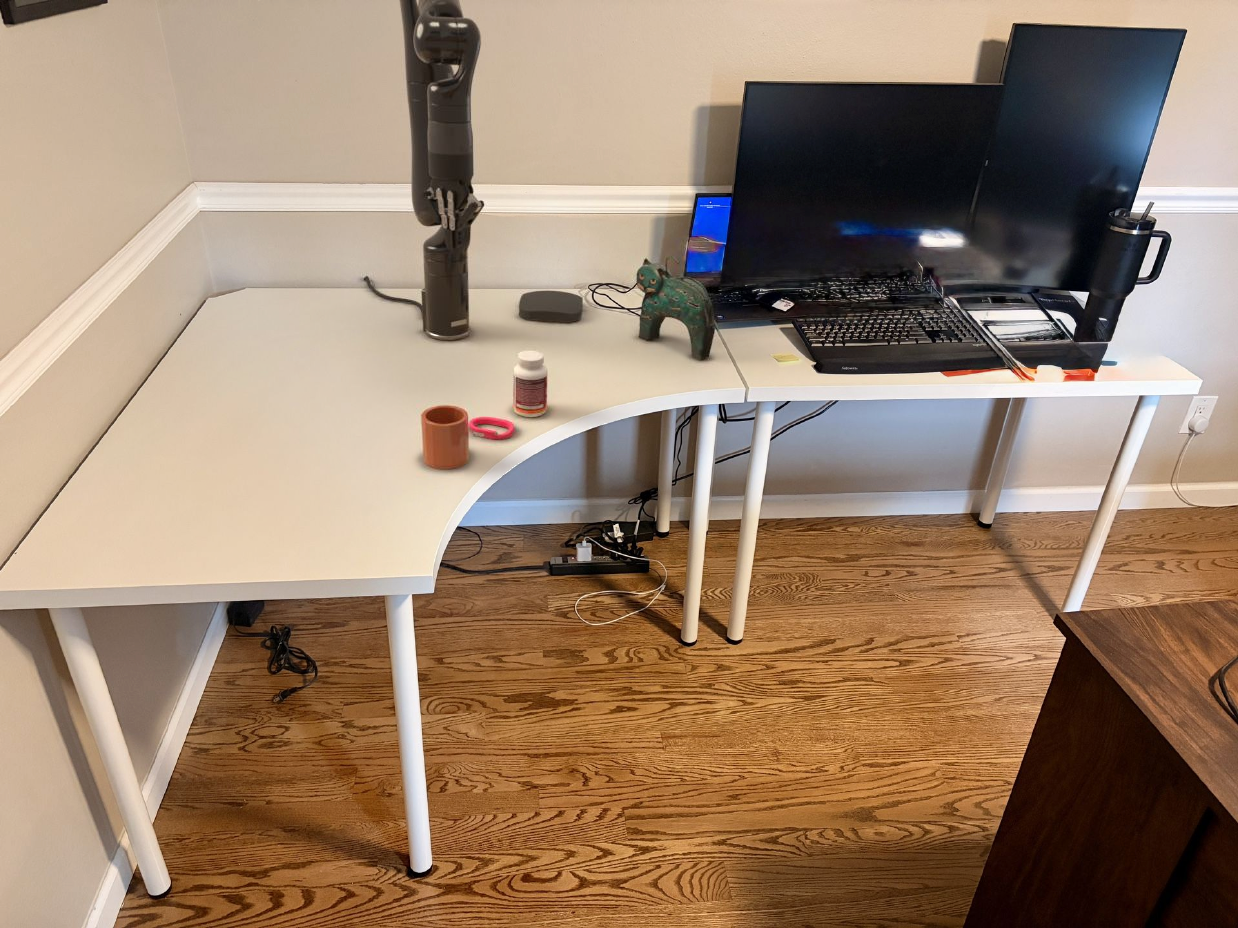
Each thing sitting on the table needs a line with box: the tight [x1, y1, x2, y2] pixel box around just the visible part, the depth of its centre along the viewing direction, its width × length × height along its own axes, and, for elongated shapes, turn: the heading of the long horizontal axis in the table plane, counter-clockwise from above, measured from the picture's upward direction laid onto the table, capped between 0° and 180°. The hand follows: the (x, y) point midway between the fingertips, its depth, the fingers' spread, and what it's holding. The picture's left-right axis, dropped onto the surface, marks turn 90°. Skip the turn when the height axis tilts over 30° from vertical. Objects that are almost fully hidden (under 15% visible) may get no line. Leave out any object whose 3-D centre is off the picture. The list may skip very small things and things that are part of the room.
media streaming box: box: [518, 290, 584, 323], centre depth 213 cm, size 15×15×3 cm
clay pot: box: [420, 404, 470, 470], centre depth 148 cm, size 7×7×8 cm
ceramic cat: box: [636, 254, 716, 361], centre depth 195 cm, size 20×6×20 cm, turn 47°
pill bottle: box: [512, 350, 548, 418], centre depth 165 cm, size 6×6×11 cm
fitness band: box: [468, 416, 515, 440], centre depth 159 cm, size 8×6×2 cm
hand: (453, 249), depth 161 cm, fingers closed
